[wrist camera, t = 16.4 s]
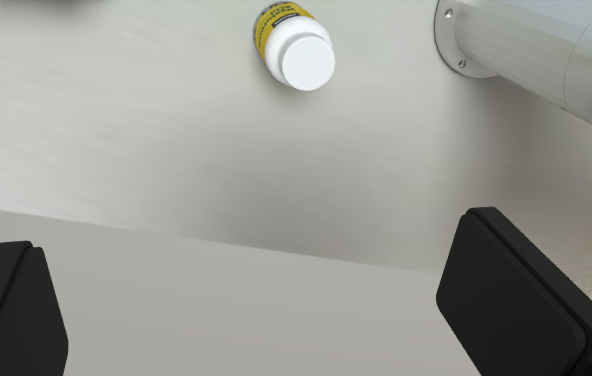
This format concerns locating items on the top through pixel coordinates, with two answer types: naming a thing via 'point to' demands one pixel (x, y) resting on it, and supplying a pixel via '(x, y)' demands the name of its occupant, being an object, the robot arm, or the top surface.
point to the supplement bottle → (294, 46)
